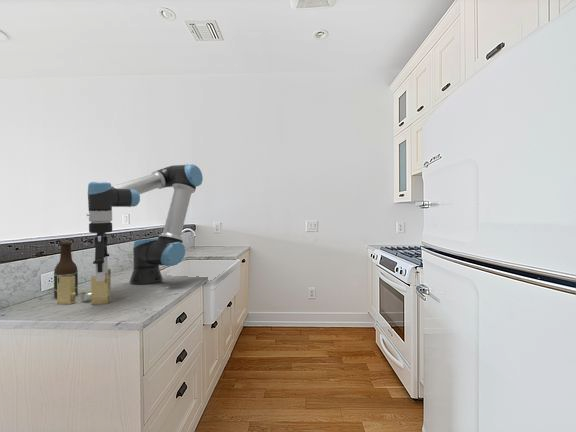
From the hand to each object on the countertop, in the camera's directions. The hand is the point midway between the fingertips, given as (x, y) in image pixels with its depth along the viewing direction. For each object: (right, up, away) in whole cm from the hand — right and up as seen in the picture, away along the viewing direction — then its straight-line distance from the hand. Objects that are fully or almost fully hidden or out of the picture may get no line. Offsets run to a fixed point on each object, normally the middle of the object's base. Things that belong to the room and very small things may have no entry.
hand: (102, 276), depth 109 cm
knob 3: (-7, -10, +11) cm, 17 cm away
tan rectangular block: (-14, -10, 0) cm, 17 cm away
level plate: (-7, -11, +4) cm, 14 cm away
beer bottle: (-21, -12, +9) cm, 25 cm away
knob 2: (0, -10, 0) cm, 10 cm away
